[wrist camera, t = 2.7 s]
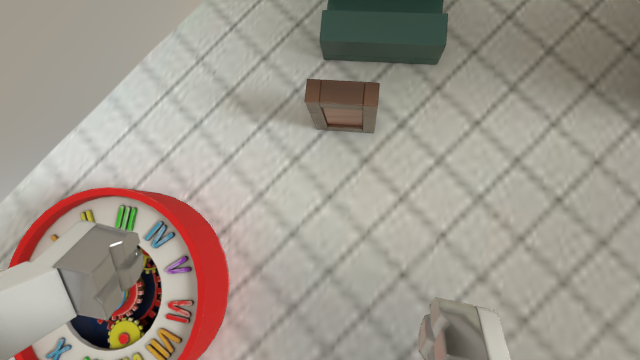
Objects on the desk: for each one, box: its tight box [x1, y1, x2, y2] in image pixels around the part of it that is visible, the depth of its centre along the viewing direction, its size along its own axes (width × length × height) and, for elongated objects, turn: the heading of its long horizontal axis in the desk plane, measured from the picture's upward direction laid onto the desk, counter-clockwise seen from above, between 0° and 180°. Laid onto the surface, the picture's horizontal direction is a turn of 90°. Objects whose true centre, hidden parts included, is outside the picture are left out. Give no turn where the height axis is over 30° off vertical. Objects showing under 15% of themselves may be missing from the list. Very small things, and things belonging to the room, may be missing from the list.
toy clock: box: [9, 187, 229, 360], centre depth 36 cm, size 20×6×20 cm
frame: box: [305, 79, 380, 133], centre depth 34 cm, size 2×6×9 cm, turn 84°
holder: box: [320, 0, 448, 64], centre depth 37 cm, size 10×12×4 cm
